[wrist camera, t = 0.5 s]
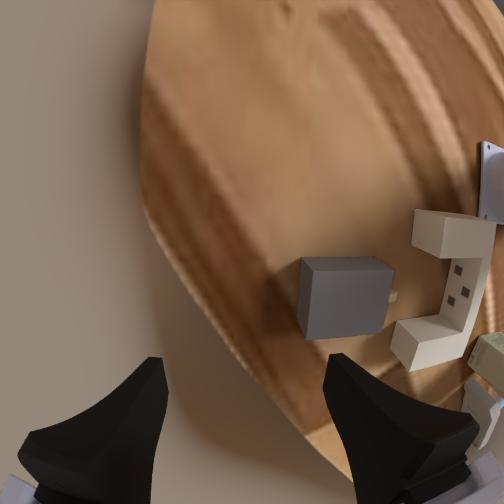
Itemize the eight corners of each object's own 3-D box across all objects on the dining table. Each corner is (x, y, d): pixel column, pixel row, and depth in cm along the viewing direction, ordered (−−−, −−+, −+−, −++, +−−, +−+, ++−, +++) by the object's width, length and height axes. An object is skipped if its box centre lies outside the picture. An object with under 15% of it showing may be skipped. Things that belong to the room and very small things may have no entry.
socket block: (467, 214, 21) (496, 222, 17) (440, 337, 24) (461, 356, 20) (415, 209, 20) (445, 217, 16) (389, 347, 24) (409, 371, 20)
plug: (384, 255, 21) (407, 268, 18) (375, 311, 23) (394, 330, 19) (300, 256, 21) (313, 271, 17) (295, 316, 22) (306, 340, 19)
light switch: (472, 376, 27) (503, 407, 20) (462, 419, 30) (484, 447, 23) (464, 383, 27) (494, 415, 20) (455, 425, 31) (476, 453, 23)
